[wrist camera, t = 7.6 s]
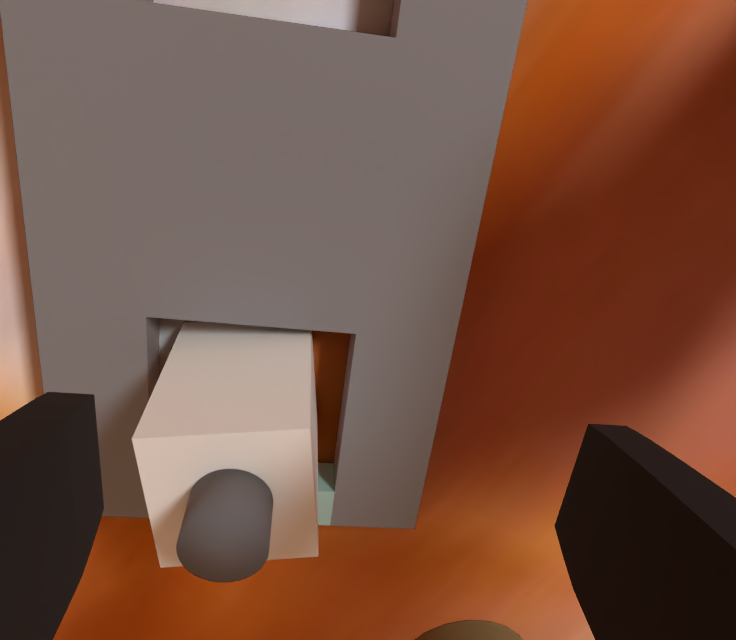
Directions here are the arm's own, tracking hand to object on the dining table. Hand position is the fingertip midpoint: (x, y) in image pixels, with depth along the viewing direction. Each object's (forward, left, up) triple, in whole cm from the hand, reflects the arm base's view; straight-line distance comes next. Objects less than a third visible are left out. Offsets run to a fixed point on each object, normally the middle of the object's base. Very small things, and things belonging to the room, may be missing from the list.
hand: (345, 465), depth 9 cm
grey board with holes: (+2, -2, -10) cm, 11 cm away
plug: (+2, +5, -10) cm, 12 cm away
